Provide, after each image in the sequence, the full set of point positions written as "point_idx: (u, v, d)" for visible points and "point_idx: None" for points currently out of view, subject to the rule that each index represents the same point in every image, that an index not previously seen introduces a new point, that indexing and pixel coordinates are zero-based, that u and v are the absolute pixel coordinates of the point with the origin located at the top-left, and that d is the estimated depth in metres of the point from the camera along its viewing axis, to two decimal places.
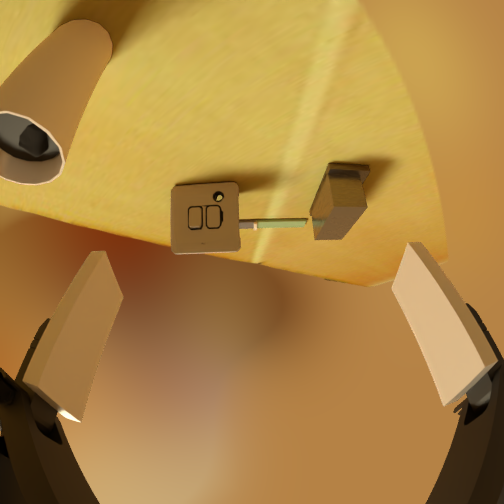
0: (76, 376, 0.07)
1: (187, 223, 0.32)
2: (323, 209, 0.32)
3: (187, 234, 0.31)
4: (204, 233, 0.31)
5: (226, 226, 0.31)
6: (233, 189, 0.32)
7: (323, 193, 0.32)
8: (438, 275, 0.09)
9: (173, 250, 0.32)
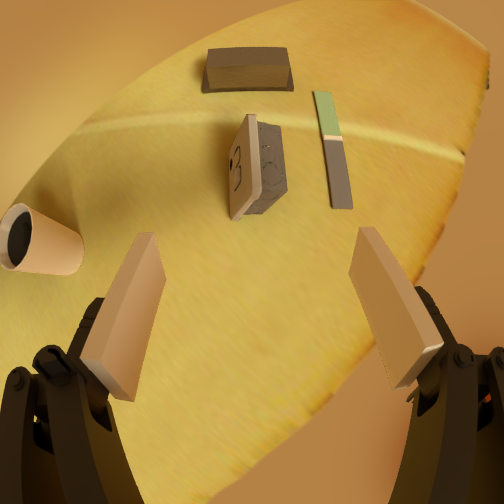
0: (131, 353, 0.08)
1: (239, 185, 0.24)
2: (238, 74, 0.28)
3: (243, 179, 0.23)
4: (241, 159, 0.24)
5: (239, 140, 0.25)
6: (229, 153, 0.29)
7: (231, 83, 0.30)
8: (385, 257, 0.10)
9: (250, 191, 0.21)
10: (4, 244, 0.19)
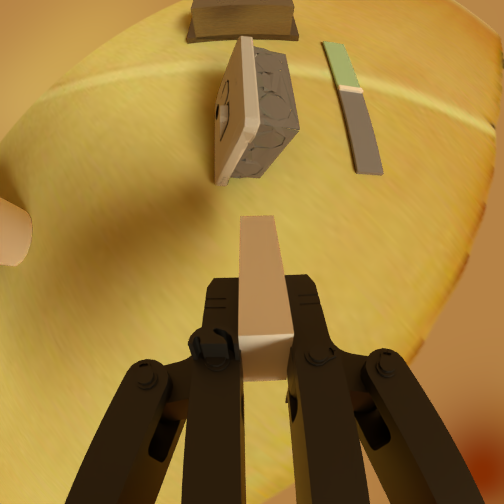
0: None
1: (226, 128, 0.15)
2: (231, 17, 0.19)
3: (231, 116, 0.14)
4: (230, 92, 0.15)
5: (228, 73, 0.16)
6: (216, 100, 0.20)
7: (222, 29, 0.21)
8: (267, 243, 0.10)
9: (242, 123, 0.12)
10: None
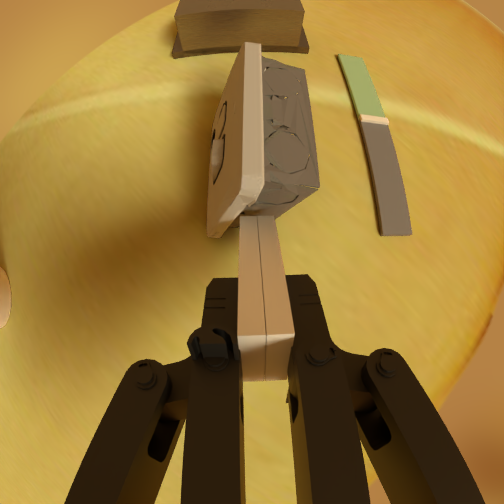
0: None
1: (220, 172, 0.12)
2: (225, 24, 0.16)
3: (226, 160, 0.11)
4: (227, 121, 0.11)
5: (228, 91, 0.12)
6: (213, 122, 0.17)
7: (214, 40, 0.17)
8: (267, 243, 0.10)
9: (238, 183, 0.09)
10: None
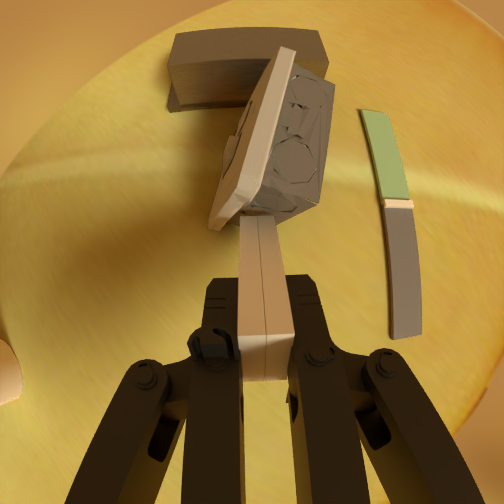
0: None
1: (229, 168, 0.12)
2: (230, 76, 0.15)
3: (235, 157, 0.11)
4: (246, 120, 0.11)
5: (256, 91, 0.13)
6: (240, 119, 0.17)
7: (217, 93, 0.17)
8: (267, 243, 0.10)
9: (235, 181, 0.09)
10: None
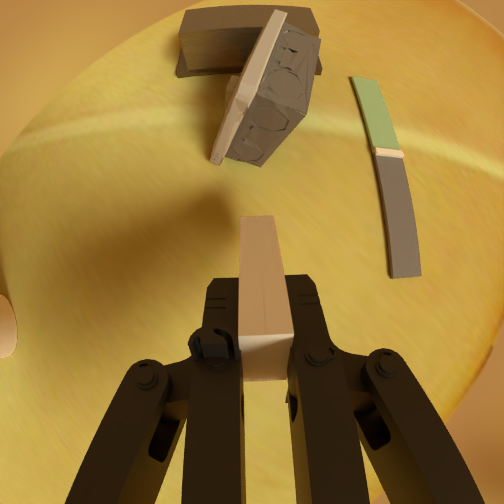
0: None
1: (231, 99, 0.13)
2: (233, 43, 0.16)
3: None
4: None
5: None
6: None
7: (221, 59, 0.17)
8: (267, 243, 0.10)
9: (236, 89, 0.10)
10: None
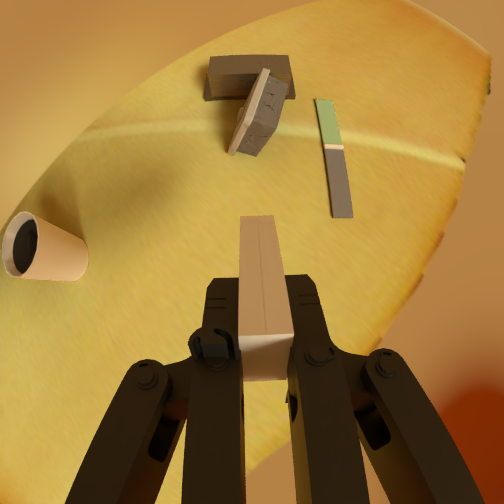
0: None
1: (240, 120, 0.26)
2: (240, 82, 0.29)
3: (243, 114, 0.25)
4: (248, 100, 0.26)
5: (253, 88, 0.27)
6: None
7: (233, 91, 0.31)
8: (267, 243, 0.10)
9: (243, 118, 0.23)
10: (9, 251, 0.20)
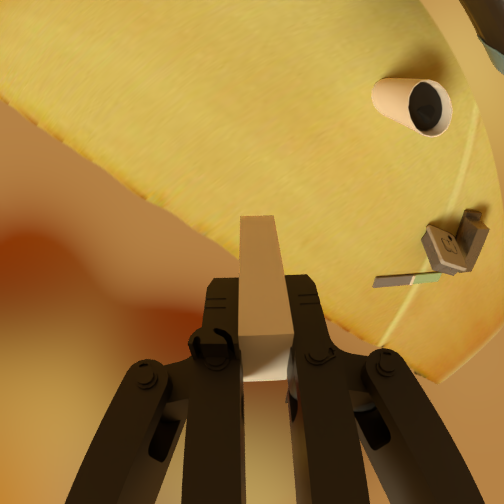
0: None
1: (444, 246, 0.38)
2: (466, 241, 0.39)
3: (446, 252, 0.37)
4: (453, 254, 0.37)
5: (459, 254, 0.38)
6: (453, 237, 0.41)
7: (463, 232, 0.40)
8: (267, 243, 0.10)
9: (444, 259, 0.36)
10: (424, 79, 0.20)
